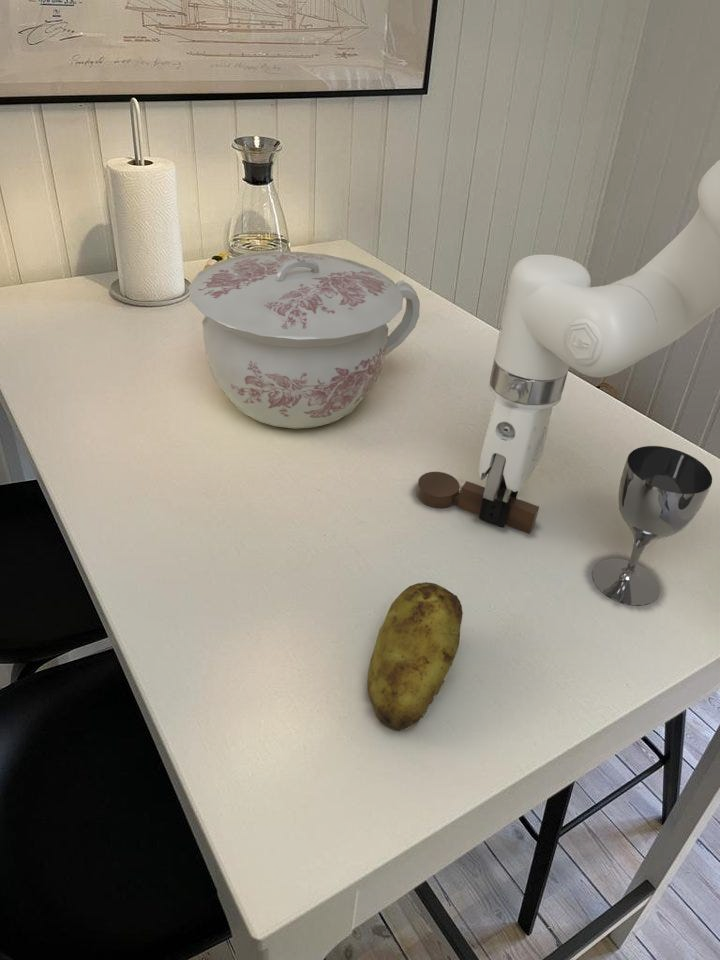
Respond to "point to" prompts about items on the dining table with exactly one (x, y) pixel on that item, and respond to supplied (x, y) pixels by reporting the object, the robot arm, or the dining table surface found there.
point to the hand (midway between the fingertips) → (495, 515)
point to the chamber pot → (299, 333)
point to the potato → (413, 653)
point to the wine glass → (651, 515)
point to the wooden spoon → (470, 499)
